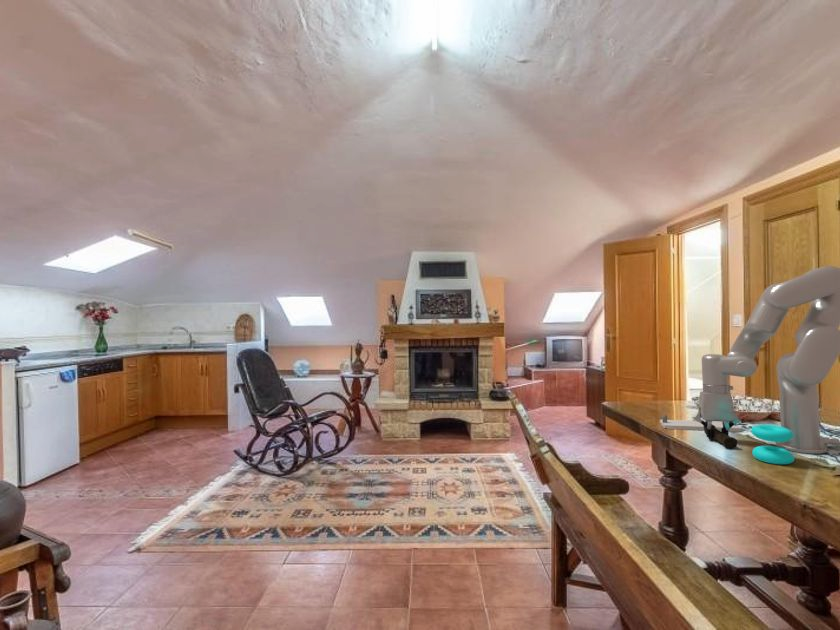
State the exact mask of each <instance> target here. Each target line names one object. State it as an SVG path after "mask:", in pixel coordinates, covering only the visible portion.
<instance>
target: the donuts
mask: <svg viewBox="0 0 840 630" xmlns="http://www.w3.org/2000/svg"><path fill="white" fill-rule="evenodd" d="M750 430H751V431H750V432H751V435H753V436H754V437H756V438H757V439H758V440H759V439H760V440H762V441H766V442H771V443H776V442H786V441H789V440H791V439H792V438H793V433H792V431H791V430H789V429H787V428H784V427H781V425H780V426H779V425H773V424H756V425H754V426H752V427H751V428H750ZM752 456H753V457H754V458H755V459H757V460H759V461H761V462H764V463H767V464H773V465H790V464H793V462H794V461H795V455H794V454H793V453H792V451H790V450H786V449H783V448H780V447H778V446H776V445H775V446H774V445H758V446H755V447H754V448H753V449H752Z"/></svg>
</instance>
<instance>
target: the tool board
mask: <svg viewBox="0 0 840 630" xmlns="http://www.w3.org/2000/svg"><path fill="white" fill-rule="evenodd" d="M703 421H704V422H705V420H703ZM660 423H661V424H660ZM659 424H660V425H661V426H662V427H663V429H664V428H668V429H667V430H677V429H683V430H682V431H704V427H703V426H704V425H703V424H701V423H699V422H697V421H696V420H687V419H686V420H685V419H683V420H682V419H681V420H680V419H668V416H667V414H662V419H659ZM712 424H713V425H714V426H715V427H716V429H717V430H719V431H721V429H722V428H723V424H722V421H712ZM728 433H743V428H742V427H740V426H739V425H737V424H735V425H733V426H732V427H731V428H730V430H728Z"/></svg>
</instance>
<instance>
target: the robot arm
mask: <svg viewBox="0 0 840 630" xmlns="http://www.w3.org/2000/svg"><path fill="white" fill-rule="evenodd" d="M810 302H811V303H810ZM807 303H810V306H809V309H808V311H807V313H806V315H805V317H804V318H803V320H802V322H801V324H800V325H799V327H798V329H797V331H796V332H795V334H794V341H795V343H796V345H797V346H796V349H795V352H789V353H786V354H785V353H784V354H783V355H781V356H780V358H779V359H778V360H777V363H776V369H775V370H776V378H777V383H778V391H779V393H778V394H779V412H780V414H779V415H780V416H779V417H780V427H784V428H787V429H789V430H791V431H792V433H793V438H792V439H791V440H789V441H786V442H775V446H776V447H780V448H783V449H786V450H788V451H789V452H796V453H800V454H801V453H802V454H813V455H815V454H816V455H818V454H820V455H821V454H825V453H827V452H828V445H832V446H833V445H834V446H840V440H839V438H830V437H827V436H822V435H821V432H820V431H821V430H820V409H819V408H820V407H819V406H820V405H819V403H820V402H819V392H818V391H819V390H818V384H820V383H821V382H823V381H824V380H825V379H826V377H827V376H828V374H829V373H830V372H831V369H832V368H833V366H834V364H835V363H836V361H837V359H838V357H839V356H840V329H839V328H840V267H837V266H832V265H831V266H830V265H829V266H828V265H827V266H822V267H816V268H813V269H810V270H808V271H807V272H805V274H803V275H800V276H796V277H793V278H792V279H789V280H785V281H783V282H780V283H779V282H778V283H773V284H770V285H768V287H766V288H765V289H764V291H763V292H762V294H761V295H760V297H759V299H758V301H757V303H756V304H755V306H754V309H753V310H752V312H751V314H750V316H749V318H748V319H747V321H746V323H745V325H744V326H743V327H742V329H741V331H740V333H739V334H738V336H737V337H736V339H735V340H734V342H733V344H732V345H731V348H730V350H729V352H728V353H727V354H726V355H723V354H716V353H713V354H712V353H710V354H704V355H703V356H701V376H702V379H701V381H702V391H700V392H699V397H698V408H697V409H698V410H697V411H698V412H697V414H696V415H695V416H694V421H697V422H699V423H701V424H703V425H704V426H705V427H706V434H705V435H706V437H707V438H708V439H709V440H710V441H712V442H713V441H714V438H713V430H712V428H711V425H712V421H718V422H722V424H723V428H722V429H721V432H723V433H725V434H727V435H728V436H729V432H728V430H730V428H731V427H732V426H733V425H735V424H736V425H737V424H739V423H741V420H740V419H739V418H738V417H737V415H736V414H735V406H734V401H733V397H732V394H731V393H730V391H733V390H734V386H733V385H729V376H733V377H739V378H747V377H750V376H753V375H754V374H755V373H756V372H757V369H758V366H757V363H756V361H755V360H754V359H755V357H756V355H757V353H758V352H759V350H760V349H761V347H762V346H763V345H764V344H765V343H766V342H767V341H769V340H770V339H772V337H774V336H775V335H776V334H777V332H778V330H779V329H780V327H781V325H782V323H783V321H784V319H785V317H786V316H787V314H788V313H789V311H790V309H792V308H794V307H795V308H796V307H798V306H802V305H805V304H807ZM704 421H705V422H704Z"/></svg>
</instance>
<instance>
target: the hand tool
mask: <svg viewBox="0 0 840 630" xmlns="http://www.w3.org/2000/svg"><path fill="white" fill-rule="evenodd" d="M703 427H704V434H705V435H706V427H705V426H703ZM711 428H712V430H713V440H716V441H717V442H719V443H720V444H722V445H723V447H724V448H725V449H726V450H727V449H729V450H732V449H735V448H737V444H738V439H736V438H734V437H733V436H728V435H729V434H728V435H727V434H725V433H723V432H721V431H719V430H717V429H716V427H715V426H714V425H713V424H712V425H711Z"/></svg>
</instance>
